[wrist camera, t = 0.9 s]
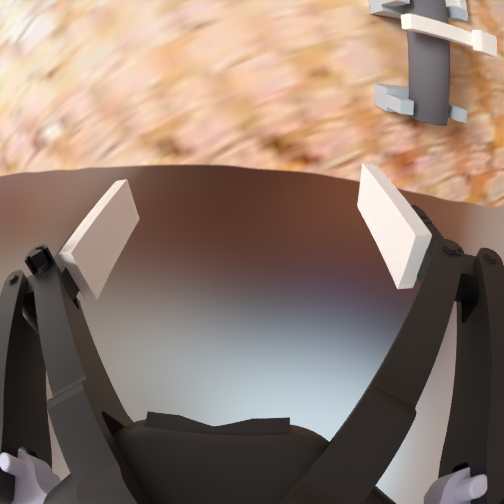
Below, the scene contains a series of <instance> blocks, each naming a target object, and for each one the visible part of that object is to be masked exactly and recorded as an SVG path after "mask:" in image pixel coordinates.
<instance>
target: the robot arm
mask: <svg viewBox="0 0 504 504" xmlns="http://www.w3.org/2000/svg"><path fill="white" fill-rule="evenodd" d="M357 207H358V209H359V210H360V212H361V214H362V216H363V218H364V220H365V221H366V224H367V226H368V227H369V229H370V231H371V233H372V235H373V237H374V239H375V241H376V243H377V245H378V247H379V250H380V252H381V254H382V256H383V258H384V260H385V262H386V264H387V266H388V269H389V271H390V273H391V275H392V277H393V280H394V282H395V284H396V287H397V289H404V288H412V287H413V286H414V283H415V280H416V278H418V280H419V282H420V286H419V289H418V291H417V293H416V296H415V298H414V300H413V303H412V305H411V307H410V309H409V312H408V314H407V316H406V318H405V320H404V322H403V324H402V326H401V328H400V330H399V332H398V334H397V336H396V338H395V340H394V342H393V344H392V346H391V348H390V350H389V352H388V354H387V355H386V357H385V359H384V361H383V363H382V364H381V366H380V368H379V369H378V371H377V373H376V374H375V376H374V378H373V379H372V381H371V383H370V385H369V386H368V388H367V389H366V391H365V393H364V394H363V396H362V397H361V399H360V400H359V402H358V403H357V405H356V406H355V408H354V409H353V411H352V412H351V414H350V415H349V417H348V418H347V419H346V421H345V422H344V424H343V425H342V426H341V428H340V429H339V430H338V432H337V433H336V434H335V436H334V437H333V438H332V440H331V441H330V442H329V441H328V440H326V439H325V438H323V437H322V436H321V435H319V434H317V433H315V432H313V431H311V430H309V429H306V428H303V427H299V426H295V425H290V418H268V419H250V420H245V421H241V422H236V423H232V424H227V425H221V426H210V425H207V424H203V423H200V422H197V421H194V420H191V419H188V418H185V417H183V416H180V415H171V414H163V413H155V412H148V413H147V418H146V419H145V420H141V421H137V422H133V421H132V420H131V419H130V417H129V416H128V415H127V413H126V412H125V410H124V408H123V406H122V404H121V402H120V400H119V398H118V396H117V394H116V392H115V390H114V388H113V386H112V384H111V382H110V379H109V377H108V375H107V373H106V371H105V368H104V366H103V364H102V361H101V359H100V356H99V354H98V352H97V349H96V347H95V344H94V342H93V339H92V336H91V334H90V331H89V328H88V325H87V323H86V320H85V317H84V314H83V311H82V308H81V305H80V302H79V300H78V299H77V297H76V296H77V294H78V292H79V291H80V292H81V294H82V296H83V297H84V299H88V300H89V299H90V300H97V299H98V297H99V295H100V292H101V291H102V288H103V286H104V284H105V282H106V280H107V278H108V276H109V274H110V272H111V270H112V268H113V266H114V264H115V263H116V261H117V259H118V257H119V255H120V253H121V251H122V249H123V247H124V246H125V244H126V242H127V240H128V238H129V237H130V235H131V233H132V231H133V229H134V227H135V226H136V224H137V222H138V221H139V216H138V213H137V210H136V207H135V204H134V201H133V197H132V194H131V191H130V187H129V184H128V180H127V179H126V180H121V181H116V182H115V183H114V184H113V185H112V186H111V188H110V189H109V190H108V191H107V192H106V193H105V194H104V196H103V197H102V198H101V199H100V200H99V202H98V203H97V204H96V205H95V206H94V208H93V209H92V210H91V211H90V213H89V214H88V215H87V216H86V218H85V219H84V220H83V222H82V223H81V224H80V225H79V227H78V228H77V229H75V230H74V231H73V232H72V234H71V235H70V236H69V237H68V239H67V241H66V242H65V243H64V245H63V246H62V247H61V248H60V250H59V251H58V253H57V254H56V256H55V257H54V258H53V257H52V255H51V253H50V251H49V249H48V247H47V245H39V246H38V247H35V248H34V249H33V250H31V251H30V252H29V253H28V255H27V256H26V258H25V262H26V264H27V266H28V267H29V269H30V271H31V272H32V274H33V275H32V276H29V277H25V275H24V273H23V272H22V271H21V270H18V271H15V272H13V273H11V275H9V276H8V278H7V279H6V281H5V283H4V286H3V289H2V293H1V296H0V504H396V503H395V502H394V501H393V500H391V499H390V498H389V497H388V496H387V495H385V494H384V493H383V492H382V491H381V490H380V489H379V488H378V487H376V486H375V485H376V484H377V482H378V481H379V479H380V478H381V476H382V475H383V473H384V472H385V470H386V469H387V467H388V465H389V464H390V462H391V461H392V459H393V458H394V456H395V454H396V453H397V451H398V449H399V447H400V446H401V444H402V442H403V440H404V439H405V437H406V435H407V433H408V431H409V429H410V427H411V425H412V423H413V421H414V419H415V417H416V410H415V407H416V404H417V402H418V400H419V398H420V396H421V394H422V391H423V389H424V387H425V385H426V382H427V380H428V377H429V375H430V373H431V370H432V368H433V365H434V362H435V360H436V357H437V355H438V352H439V349H440V346H441V343H442V340H443V337H444V334H445V331H446V328H447V325H448V321H449V318H450V315H451V311H452V308H453V304H454V301H456V302H457V349H456V365H455V378H454V387H453V396H452V403H451V410H450V416H449V422H448V427H447V432H446V438H445V442H444V446H443V451H442V456H441V461H440V468H439V476H438V480H436V481H435V482H434V483H433V484H432V485H431V486H430V488H429V490H428V492H427V493H426V494H425V496H424V504H504V265H503V262H502V260H501V258H500V257H499V255H498V254H497V253H496V252H494V251H493V250H491V249H488V248H481V249H480V250H479V251H478V254H477V256H471V255H467V254H464V251H463V249H462V248H461V247H460V246H459V245H458V244H457V243H455V242H453V241H451V240H448V239H444V238H443V237H442V235H441V234H440V232H439V231H438V230H437V228H436V227H435V226H434V224H432V222H431V220H430V219H428V217H427V215H426V214H425V213H424V211H422V210H421V209H420V208H418V207H417V206H415V205H410V204H409V203H408V202H407V201H406V199H405V198H404V197H403V196H402V194H401V193H400V192H399V191H398V189H397V188H396V187H395V186H394V185H393V183H392V182H391V181H390V180H389V179H388V178H387V176H386V175H385V174H384V173H383V172H382V171H381V170H380V168H379V167H378V166H377V165H376V164H375V163H362V171H361V180H360V189H359V198H358V206H357ZM23 314H24V315H25V318H24V316H23ZM46 371H47V375H48V379H49V383H50V387H51V391H52V394H53V398H51V399H49V400H48V402H47V399H46ZM47 409H48V412H49V416H50V419H51V422H52V425H53V428H54V431H55V435H56V437H57V440H58V443H59V446H60V448H61V451H62V454H63V456H64V459H65V461H66V463H67V466H68V468H69V470H70V473H71V474H69V475H68V476H67V477H66V478H65V479H64V480H62V481H61V480H60V478H59V477H58V475H56V474H54V473H53V471H52V455H51V453H52V452H51V442H50V433H49V425H48V414H47Z"/></svg>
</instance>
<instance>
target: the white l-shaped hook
mask: <svg viewBox="0 0 504 504" xmlns="http://www.w3.org/2000/svg"><path fill="white" fill-rule="evenodd" d="M401 23H402V29H404V30H409V31H414V32H418V33H422V34H427V35H430V36H434V37H438V38H442V39H445V40H448V41H452V42H455V43H458V44H461V45H464V46H467V47H470V48H472V49H473V50H475V51H478V52H480V53H483V54H485V55H488V56H492V57H497V39H496V37H495V36H493V35H491V34H488V33H486V32H484V31H482V30H473V29H472V33H471V32H469V31H466V30H463V29H461V28H458V27H455V26H452V25H449V24H446V23H443V22H440V21H436V20H433V19H430V18H426V17H422V16H418V15H414V14H403V15H401Z"/></svg>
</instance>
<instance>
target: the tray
mask: <svg viewBox="0 0 504 504" xmlns="http://www.w3.org/2000/svg"><path fill="white" fill-rule="evenodd" d="M445 1H446V7H448V6H457V7H460V8H462V9H465V10H466V13H467V5H466V0H445ZM467 19H468V13H467Z"/></svg>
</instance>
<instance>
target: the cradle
mask: <svg viewBox="0 0 504 504" xmlns="http://www.w3.org/2000/svg"><path fill="white" fill-rule="evenodd" d="M409 3H410V1H409V0H369V6H370V14H375V15H381V16H387V17H393V18H398V19H401V15H403V14H406V13H405V4H409ZM446 9H447V18H448V22H467V13H466V10H465V9H462V8H460V7H457V6H448V7H446ZM375 105H376V106H378V107H380V108H381V109H383V110H385V111H389V112H398V113H400V114H407V115H413V108H414V101H412V100H410V99H409V87H402V86H394V85H384V84H375ZM448 117H450V118H452V119H454V120H456V121H460V122H465V123H466V120H467V110H466V109H464V108H461V107H459V106H457V105H455V104H452V103H450V102H449V107H448Z"/></svg>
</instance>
